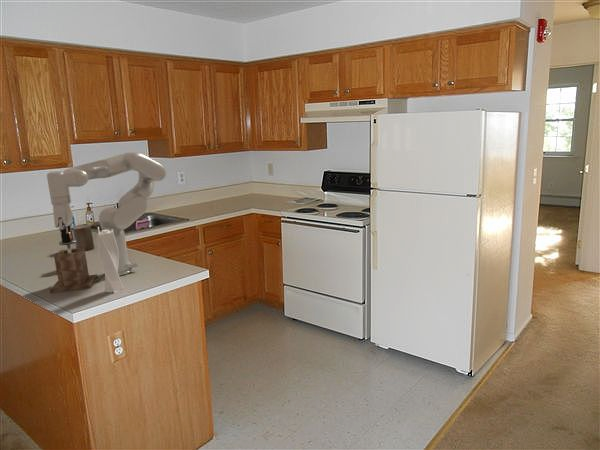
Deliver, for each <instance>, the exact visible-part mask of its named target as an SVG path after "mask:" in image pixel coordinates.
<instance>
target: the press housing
mask: <svg viewBox="0 0 600 450" xmlns="http://www.w3.org/2000/svg"><path fill="white" fill-rule="evenodd" d="M71 252H72V253H68V250H67V248H66V249H60V250H59V251H58V252H57V253H56V254H54V255H53V258H54V259H53V260H54V264H55V270H56V276H57V281H56V283H54V285H53V286H52V287H51V288H50V289H49V291H50V293H58V292H60V293H61V292H67V291H70V292H71V291H77V290H86V289H87V290H88V289H91V288H92V286H93V285H94V283H95V282H96V280H97V279H98V278H99V277H98V274H96V273H95V274H89V268H88V261H87V255H86V251H85V248H76V247H75V248H71Z"/></svg>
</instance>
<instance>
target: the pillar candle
mask: <svg viewBox="0 0 600 450" xmlns="http://www.w3.org/2000/svg"><path fill="white" fill-rule="evenodd" d="M72 233H73V239H76V240H77V242H76V243H74V245H75V248H85V252H86V251H91V250H93V249H95V244H94V236H93V230H92V226H91V224H81V225H77V226H74V227H72Z"/></svg>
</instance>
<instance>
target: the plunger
mask: <svg viewBox="0 0 600 450" xmlns="http://www.w3.org/2000/svg"><path fill="white" fill-rule="evenodd" d="M68 233H69V236H70V242H68V243H62V240H61V241H58V244H59V245H60V246H66V249H67V250H68V253H72V252H71V249H72V248H71V245H73V244H74V245H75V243H76V242H77V240H76V239H74V238H73V240H72V235H73V234H72V235H71V232H68Z"/></svg>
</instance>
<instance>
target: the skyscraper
mask: <svg viewBox="0 0 600 450" xmlns="http://www.w3.org/2000/svg"><path fill="white" fill-rule="evenodd" d="M111 230H112V231H109V230H102V229H101V231H100V227H99V226H97V232H98V233H97V235H98V236H97V238H98V240H97V246H98V247H97V248H98V256H99V260H100V264H101V267H102V270H103V272H104V276H105V277H104V293H112V292H113V294H116V293H117V292H119V291H122V290H125V289H124V285H123V282H122V280H121V278H120V276H119V274H118V265H119V252H118V246H117V243H116V239H115V236H114V233H113V229H111Z"/></svg>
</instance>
